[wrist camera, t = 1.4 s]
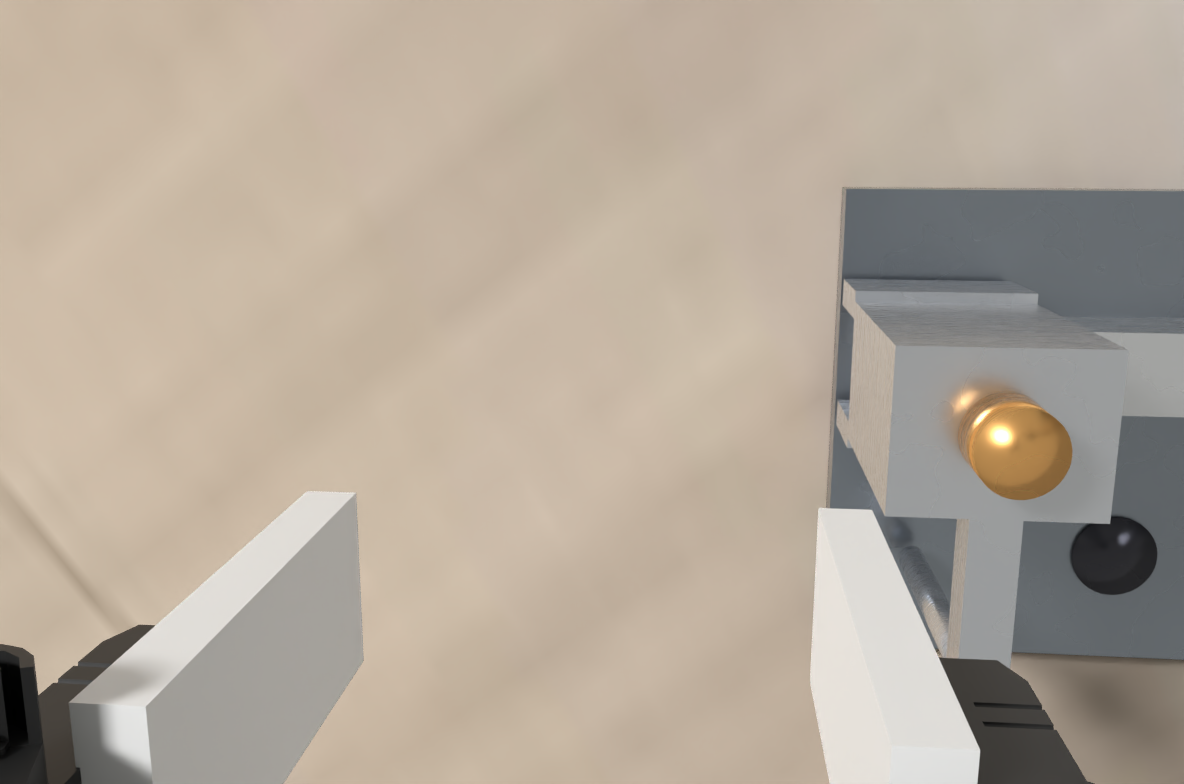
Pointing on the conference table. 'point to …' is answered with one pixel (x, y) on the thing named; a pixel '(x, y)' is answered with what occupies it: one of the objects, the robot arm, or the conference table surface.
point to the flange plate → (1064, 278)
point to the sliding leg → (979, 434)
